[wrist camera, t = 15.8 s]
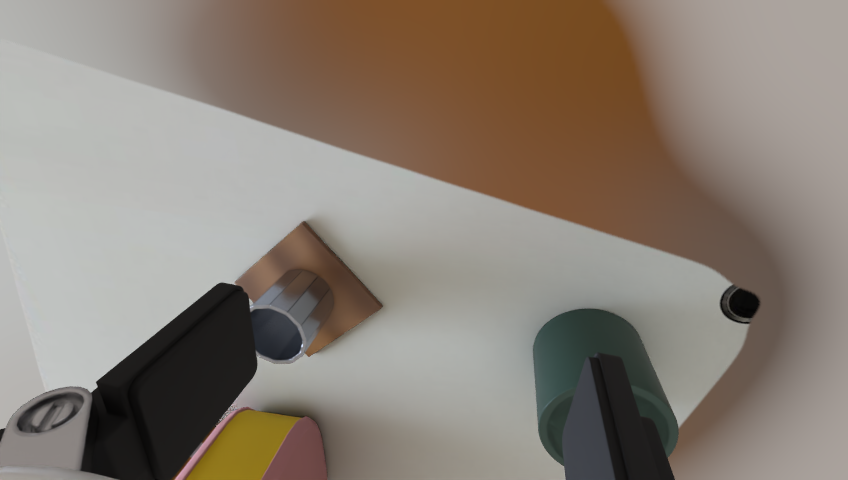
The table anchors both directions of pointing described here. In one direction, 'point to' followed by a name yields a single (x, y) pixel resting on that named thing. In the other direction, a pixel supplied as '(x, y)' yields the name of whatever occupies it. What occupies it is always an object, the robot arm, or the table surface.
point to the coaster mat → (318, 258)
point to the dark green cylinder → (563, 362)
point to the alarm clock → (259, 449)
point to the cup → (290, 315)
